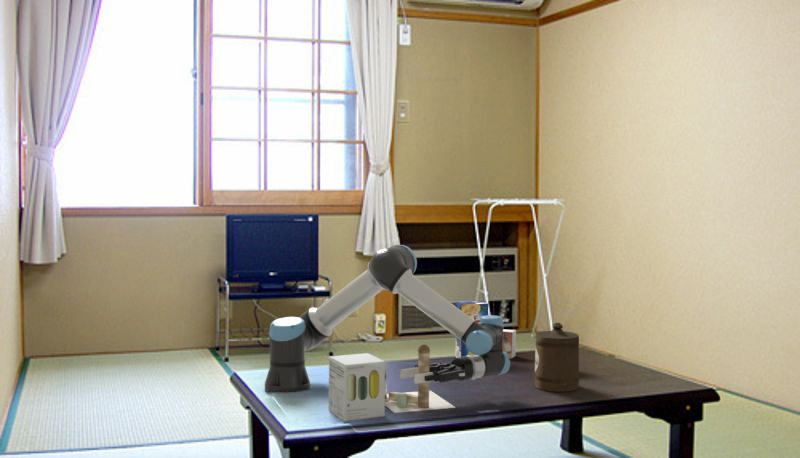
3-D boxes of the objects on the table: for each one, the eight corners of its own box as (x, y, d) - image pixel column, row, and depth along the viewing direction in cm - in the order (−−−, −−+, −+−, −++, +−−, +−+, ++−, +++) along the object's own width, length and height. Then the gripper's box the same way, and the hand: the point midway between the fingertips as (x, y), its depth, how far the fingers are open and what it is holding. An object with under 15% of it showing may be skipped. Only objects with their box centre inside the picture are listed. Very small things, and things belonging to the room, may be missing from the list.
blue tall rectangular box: (487, 359, 354) (488, 303, 353) (460, 361, 351) (461, 304, 350) (481, 356, 361) (482, 300, 359) (455, 357, 358) (455, 301, 356)
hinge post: (377, 402, 287) (377, 364, 286) (373, 399, 291) (373, 361, 290) (390, 401, 289) (391, 363, 288) (386, 397, 293) (386, 360, 292)
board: (394, 415, 275) (394, 412, 275) (372, 397, 296) (372, 395, 296) (455, 410, 282) (455, 407, 282) (430, 392, 303) (430, 390, 303)
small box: (492, 357, 360) (492, 330, 359) (496, 354, 365) (496, 328, 364) (512, 358, 357) (512, 332, 356) (515, 356, 362) (516, 329, 361)
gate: (387, 402, 287) (387, 341, 285) (393, 400, 290) (393, 339, 288) (425, 409, 280) (426, 346, 278) (431, 406, 283) (432, 344, 281)
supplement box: (344, 424, 266) (344, 364, 265) (327, 412, 278) (328, 356, 277) (385, 419, 272) (386, 360, 270) (368, 408, 284) (368, 352, 282)
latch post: (398, 408, 280) (399, 395, 280) (395, 406, 283) (395, 393, 283) (408, 407, 281) (408, 394, 281) (405, 405, 284) (405, 392, 284)
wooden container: (546, 379, 322) (547, 317, 321) (585, 385, 314) (587, 322, 312) (526, 387, 310) (527, 323, 309) (566, 394, 302) (568, 328, 300)
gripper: (487, 385, 283) (426, 395, 270) (448, 373, 299) (389, 382, 287) (487, 361, 282) (426, 370, 270) (448, 350, 299) (389, 358, 286)
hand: (407, 376), depth 278 cm, fingers open, 7 cm apart
